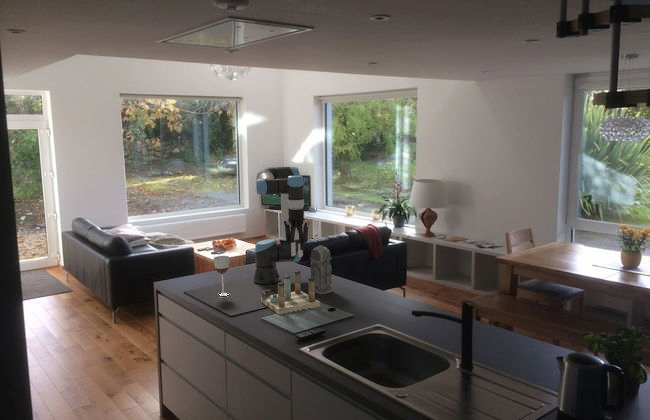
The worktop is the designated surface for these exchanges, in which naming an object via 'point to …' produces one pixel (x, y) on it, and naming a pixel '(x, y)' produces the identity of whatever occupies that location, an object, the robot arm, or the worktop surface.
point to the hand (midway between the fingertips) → (297, 256)
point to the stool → (292, 297)
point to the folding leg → (286, 289)
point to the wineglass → (221, 268)
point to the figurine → (321, 269)
